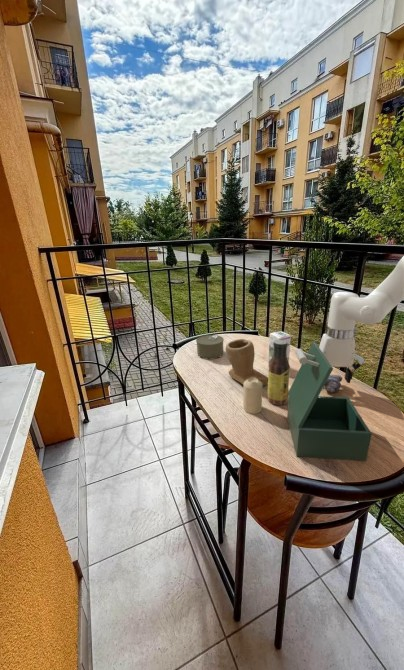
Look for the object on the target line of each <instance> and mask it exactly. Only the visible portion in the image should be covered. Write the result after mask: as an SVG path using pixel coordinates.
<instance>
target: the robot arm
mask: <svg viewBox="0 0 404 670" xmlns="http://www.w3.org/2000/svg"><path fill="white" fill-rule="evenodd" d="M403 300H404V255H403V256H402V257H401V258H400V259H399V261H398V262H397V264H396V265H395V267H394V269H393V270H392V271H391V272H390V273H389V274H388V276H387V277H386V278H385V279H383V280H382V281H381V283H380V284H378V285H377V287H376V288H375V289H373V290H372V291H371V292H370V293H369V294H368V295H366V296H365V297H360V296H359V294H357V293H354V292H350V291H336V292H335V293H333V294H332V295H331V300H330V305H329V311H328V319H327V326H326V333H323V334H322V337H321V339H320V343H319V345H318V347H319V348H320V350H321V351H322V353H323V354H324V356H325V357H326V359H327V360H328V362H329V363H330V365H331V366H332V368H346V369H345V373H344V380H345V381H346V383H347V384H351V380H353V376H354V373H356V371H357V370H358V369H359V368H361V366H362V365H363V363H364V362H365V358H364V357H362V356H360V355H358V354H356V341H355V337H354V335H356V334H359V329H358V328H356V322H358V323H361V324H365V325H377V324H379V323H381V322H382V321H383V320H384V319H385V318H386V317H387V315H389V313H391V311H392V310H394V308H395V307H396V306H398V305H399V304H400V303H401V302H402V301H403ZM355 360H356V361H355Z"/></svg>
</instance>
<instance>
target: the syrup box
mask: <svg viewBox="0 0 404 670" xmlns="http://www.w3.org/2000/svg"><path fill="white" fill-rule="evenodd" d="M291 337H292V336H291V334H288V333H287V332H284V331H281V330H278V331H274V332H270V333H269V339H268V341H269V342H268V366H267V368H269V362H270V360H271V358H272V357H273V356H274V355H273V353H274V346H273V343H274V341H275V340H284V341H287V343H288V346H287V351H286V354H287V355H286V356H287V359H288V363H289V364H290V352H291V339H292V338H291Z"/></svg>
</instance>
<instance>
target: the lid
mask: <svg viewBox="0 0 404 670" xmlns="http://www.w3.org/2000/svg"><path fill="white" fill-rule="evenodd" d="M294 354H295V356H296V357H297V360H298V362H299V364H301V365H300V367H299V369H298V371H297V374H296V375H295V377H294V379H293V382H292V384H291V385H290V388H289V389H288V400H289V399H290V403H291V406H292V410H293V413H294V416H295V420H296V423H297V427H298V428H300V429H301V428H302V426H303V424H304V422H305V420H306V418H307V416H308V415H309V413H310V411H311V409H312V407H313V405H314V403H315V402H316V400H317V398H318V396H320V395H321V392H322V391H323V389H324V388H325V387H324V385H325V383H326V381H327V379H328V378H329V376H330V375H332V372H333V370H334V367H332V366H331V365H330V363H329V362H328V360H327V359H326V357H325V356H324V354H323V353H322V351H321V350H320V348H319V345H318V344H317V342H315V341H312V342H311V344H310V347H309V349H308V350H307V353H306V352H304V350H303V349H302V348H297V349H296V350H295V353H294Z"/></svg>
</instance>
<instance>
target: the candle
mask: <svg viewBox="0 0 404 670" xmlns="http://www.w3.org/2000/svg"><path fill="white" fill-rule="evenodd" d="M242 398H243V399H242V401H243V402H242V408H243V410H244V411H245V412H246V413H249V414H257V413H260V412H261V411H262V408H263V407H262V406H263V386H262V383H261V382H260V381H259V380H258V379H257V378H254V377H251V378H250V379H247V380H246V381H245V382H244V385H243V396H242Z"/></svg>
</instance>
